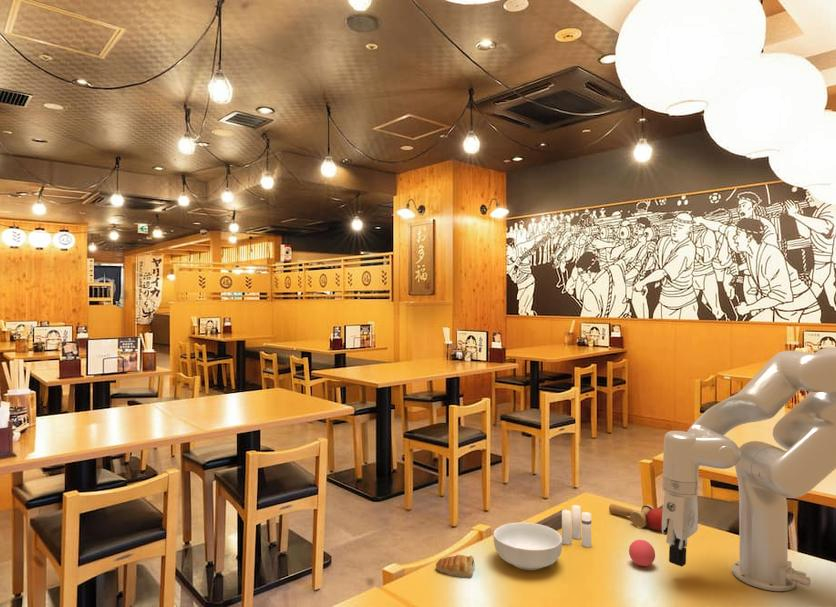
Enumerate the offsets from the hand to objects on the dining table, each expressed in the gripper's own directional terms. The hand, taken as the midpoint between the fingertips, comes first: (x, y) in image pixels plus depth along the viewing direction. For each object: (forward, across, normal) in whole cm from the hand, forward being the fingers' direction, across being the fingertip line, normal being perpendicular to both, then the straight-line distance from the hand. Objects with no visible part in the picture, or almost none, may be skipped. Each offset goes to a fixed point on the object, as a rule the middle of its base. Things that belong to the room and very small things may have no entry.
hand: (677, 563), depth 127 cm
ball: (+1, +1, +9) cm, 9 cm away
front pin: (+4, +1, +24) cm, 24 cm away
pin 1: (+5, -2, +28) cm, 29 cm away
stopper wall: (+5, +1, +35) cm, 35 cm away
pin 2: (+4, +3, +28) cm, 29 cm away
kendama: (+4, +25, +21) cm, 33 cm away
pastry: (+6, -34, +38) cm, 51 cm away
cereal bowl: (+5, -18, +29) cm, 35 cm away
